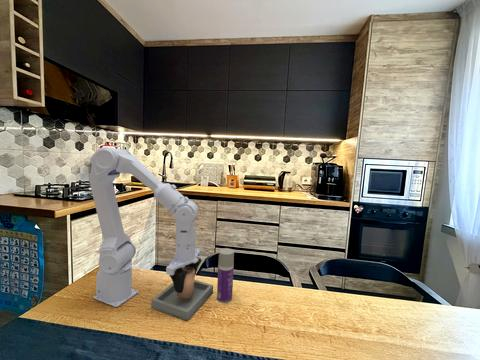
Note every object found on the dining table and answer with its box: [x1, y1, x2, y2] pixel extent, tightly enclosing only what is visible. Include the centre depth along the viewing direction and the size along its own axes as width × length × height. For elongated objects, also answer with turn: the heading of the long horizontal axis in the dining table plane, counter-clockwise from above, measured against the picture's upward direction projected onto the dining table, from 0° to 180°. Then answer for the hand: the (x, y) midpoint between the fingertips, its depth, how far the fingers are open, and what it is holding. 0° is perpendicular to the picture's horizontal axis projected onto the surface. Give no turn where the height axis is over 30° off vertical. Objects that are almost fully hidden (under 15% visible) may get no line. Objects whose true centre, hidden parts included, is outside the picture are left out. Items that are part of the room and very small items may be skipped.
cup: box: [177, 266, 196, 298], centre depth 67 cm, size 5×5×7 cm
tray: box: [150, 279, 214, 322], centre depth 67 cm, size 12×14×2 cm
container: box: [216, 247, 235, 304], centre depth 68 cm, size 5×5×15 cm
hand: (184, 286), depth 67 cm, fingers closed on cup, 5 cm apart
